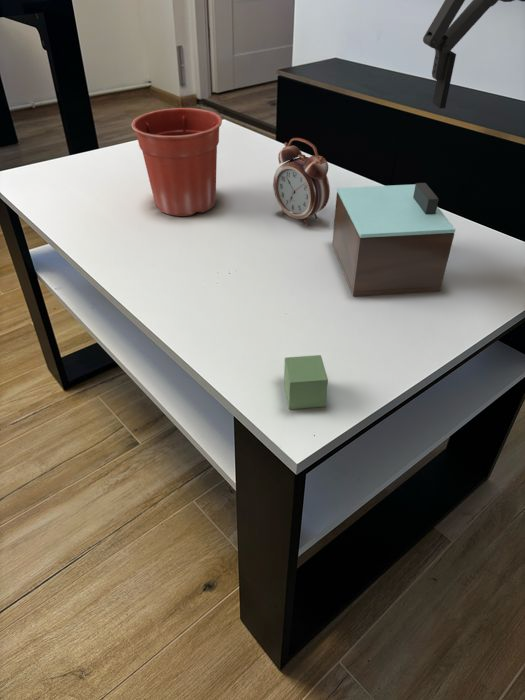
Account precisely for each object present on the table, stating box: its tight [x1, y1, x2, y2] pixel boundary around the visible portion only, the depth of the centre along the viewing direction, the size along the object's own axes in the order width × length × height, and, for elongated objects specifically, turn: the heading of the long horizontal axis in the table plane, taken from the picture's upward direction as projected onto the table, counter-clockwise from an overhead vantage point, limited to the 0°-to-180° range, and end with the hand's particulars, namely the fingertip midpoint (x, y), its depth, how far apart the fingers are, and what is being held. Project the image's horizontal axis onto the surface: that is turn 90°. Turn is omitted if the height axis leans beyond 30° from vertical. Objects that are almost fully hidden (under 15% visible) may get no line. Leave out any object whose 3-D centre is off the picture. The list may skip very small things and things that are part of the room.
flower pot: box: [131, 107, 223, 217], centre depth 104 cm, size 16×16×16 cm
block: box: [283, 354, 329, 410], centre depth 66 cm, size 4×4×4 cm
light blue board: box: [336, 182, 456, 238], centre depth 83 cm, size 16×14×3 cm
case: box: [331, 191, 455, 297], centre depth 87 cm, size 16×14×10 cm
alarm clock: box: [272, 137, 331, 227], centre depth 99 cm, size 11×5×15 cm, turn 45°
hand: (486, 103), depth 74 cm, fingers open, 13 cm apart
